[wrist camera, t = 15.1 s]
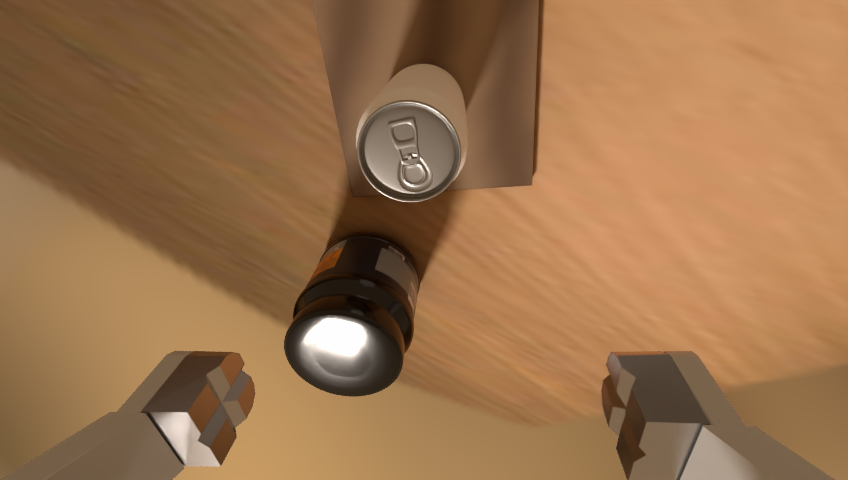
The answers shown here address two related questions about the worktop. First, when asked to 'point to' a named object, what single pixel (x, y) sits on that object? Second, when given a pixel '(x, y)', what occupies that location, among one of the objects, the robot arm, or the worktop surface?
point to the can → (414, 134)
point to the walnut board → (450, 50)
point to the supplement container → (355, 316)
